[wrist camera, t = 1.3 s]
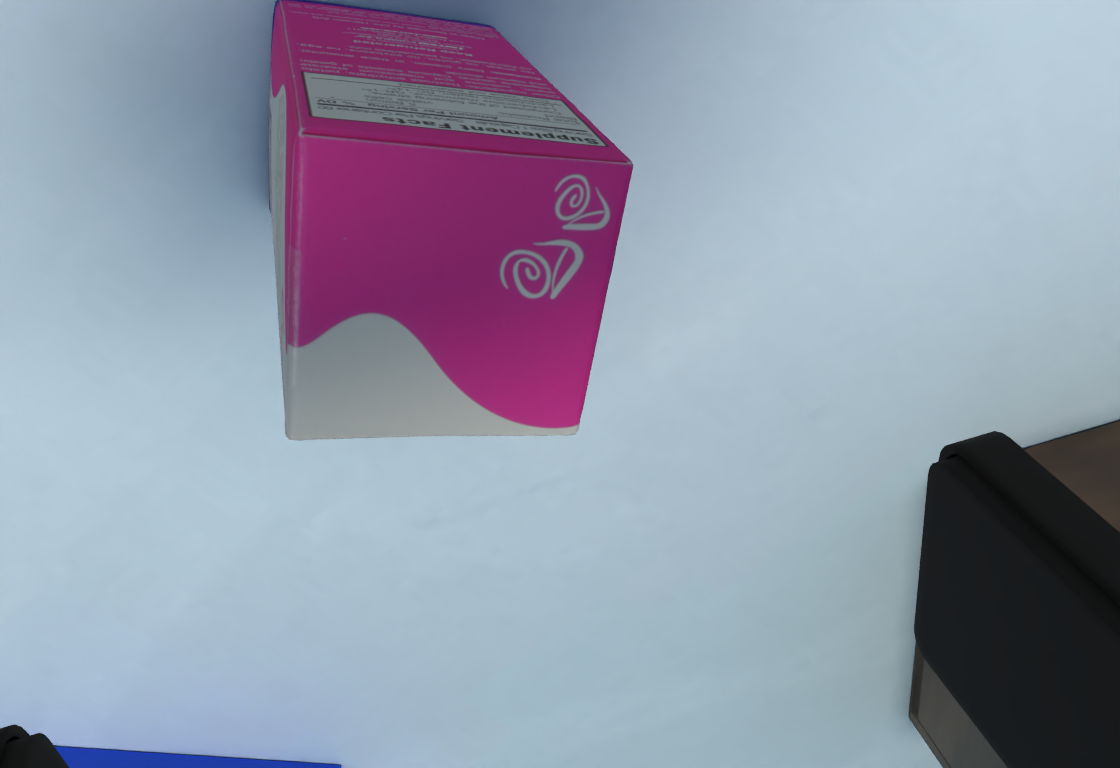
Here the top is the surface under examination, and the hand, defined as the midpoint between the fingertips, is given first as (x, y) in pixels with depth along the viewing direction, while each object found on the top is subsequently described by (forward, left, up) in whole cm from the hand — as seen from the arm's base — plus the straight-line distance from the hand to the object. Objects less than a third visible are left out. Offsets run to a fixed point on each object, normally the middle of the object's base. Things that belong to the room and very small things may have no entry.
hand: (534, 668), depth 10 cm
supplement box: (0, 0, -19) cm, 19 cm away
